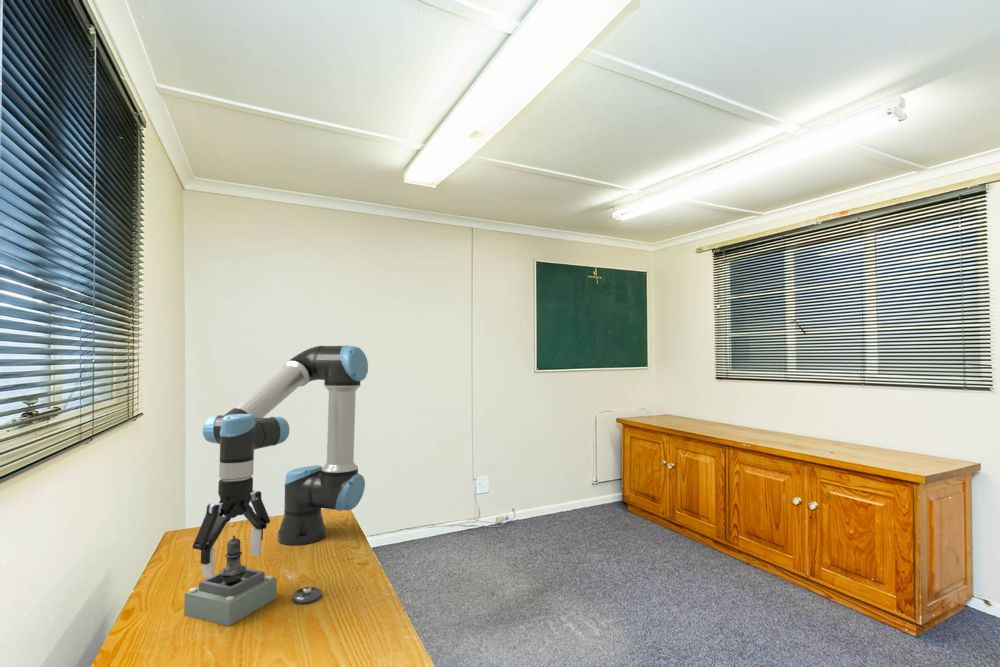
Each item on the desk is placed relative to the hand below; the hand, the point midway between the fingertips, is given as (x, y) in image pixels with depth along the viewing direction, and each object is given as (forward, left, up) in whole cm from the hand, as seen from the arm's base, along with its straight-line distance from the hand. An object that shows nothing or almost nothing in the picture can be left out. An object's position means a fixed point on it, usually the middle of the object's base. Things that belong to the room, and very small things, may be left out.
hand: (233, 565), depth 120 cm
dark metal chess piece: (0, 0, -5) cm, 5 cm away
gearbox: (0, -1, -10) cm, 10 cm away
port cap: (-10, +14, -10) cm, 20 cm away
